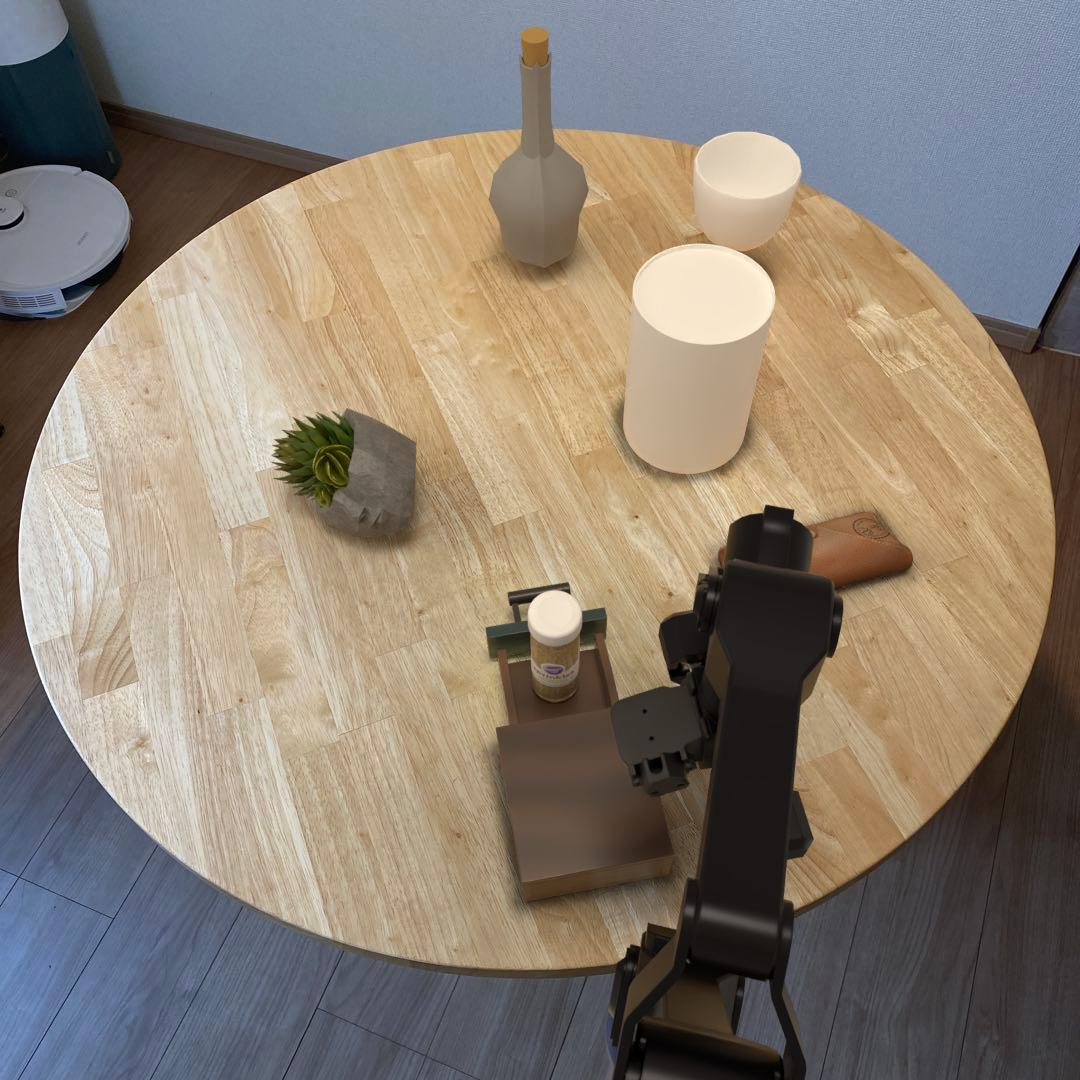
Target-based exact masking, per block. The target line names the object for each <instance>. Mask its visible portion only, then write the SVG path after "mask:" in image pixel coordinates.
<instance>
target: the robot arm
mask: <svg viewBox="0 0 1080 1080" xmlns="http://www.w3.org/2000/svg"><path fill="white" fill-rule="evenodd" d="M806 526H807V525H805V524H803V523H802V522H800V521H798V520H797V519H795V509H794V508H788V507H783V506H777V505H771V504H765V505H764V508H763V511H762V512H758V513H750V514H747V515H744V516H741V517H739V518H737V519H736V520H734V521H733V522H731V523H730V524H729V527H728V531H727V537H726V538H727V539H726V544H725V546H726V549H725V555H724V561H723V567H722V566H721V567H719V566H714V565H709V567H708V571H707V573H705V572H704V573H703V572H698V576H697V581H696V585H695V586H696V587H695V592H694V598H693V604H692V609H689V610H684V611H678V612H677V611H676V612H673V613H671V614H670V615H667V616H666V617H664V619H663V620H662V621H661V622H660V624H659V629H658V634H657V637H658V640H659V643H660V648H661V652H662V655H663V658H664V662H665V663H664V664H665V666H666V670H667V673H668V677H669V681H670V682H672V683H674V684H677V686H671V687H669V686H667V685H662V686H657V687H655V688H652V689H649V690H646V691H643V692H639V693H636V694H633V695H630V696H627V697H623V698H620V699H619V700H618V701H617V702H616V703H615V704H614V705H613V706H612V708H611V720H612V724H613V728H614V733H615V737H616V741H617V746H618V750H619V754H620V757H621V759H622V760H623V761H624V762H625V763H626V764H627V765H628V769H629V774H630V778H631V781H632V786H633V787H640V786H643V787H644V791H645V793H646V794H647V795H649V796H650V797H659V796H660V797H662V796H665V795H668V794H672V793H675V792H679V791H682V790H685V789H686V788H688V787H689V786H690V781H689V780H690V779H689V774H690V772H692V771H694V770H696V769H697V768H699V770H700V771H702V770H703V771H704V770H708V769H710V774H709V782H708V788H707V795H706V803H705V809H704V815H703V816H704V817H703V823H702V830H701V837H700V844H699V851H698V858H697V864H696V871H695V878H694V877H689V876H687V877H686V880H685V885H684V887H683V893H682V899H681V904H680V909H679V914H678V918H677V924H676V928H671V927H667V926H663V925H660V924H655V923H650V922H647V925H646V930H645V931H644V932H642V933H641V938H640V943H639V944H640V945H636V944H633V943H630V944H629V947H628V946H627V947H626V950H625V956H624V957H623V958H622V959H620V960H619V961H617V962H616V966H615V971H614V977H613V983H612V988H611V992H610V998H609V1003H608V1008H607V1011H608V1014H609V1013H610V1014H611V1016H612V1018H613V1024H612V1030H611V1035H610V1039H612V1046H611V1047H614V1048H617V1054H616V1059H615V1064H614V1070H613V1075H612V1080H805V1079H806V1076H807V1060H806V1055H805V1049H804V1043H803V1039H802V1038H803V1037H802V1033H801V1027H800V1026H801V1025H800V1021H799V1019H798V1015H797V1012H796V1010H795V1007H794V1004H793V1001H792V998H791V996H790V993H789V989H788V987H787V984H786V981H785V980H786V975H787V970H788V966H789V960H790V956H791V949H792V944H793V934H794V927H795V926H794V924H795V906H794V903H793V901H792V900H789V899H785V890H786V889H785V888H786V878H787V869H788V860H789V861H790V860H795V859H800V858H804V857H805V855H806V854H807V852H808V851H809V849H810V847H811V845H812V844H813V842H814V840H815V837H814V835H813V832H812V829H811V826H810V823H809V819H808V817H807V813H806V809H805V807H804V804H803V801H802V798H801V795H800V792H799V790H794V786H795V775H796V765H797V764H796V763H797V752H798V742H799V740H798V739H799V731H800V730H799V729H800V728H799V727H800V718H801V706H802V705H803V704H804V703H805V702H806V701H807V700H808V699H809V698H810V697H811V696H812V694H813V691H814V690H815V687H816V685H817V683H818V679H819V676H820V674H821V671H822V668H823V666H824V664H825V661H826V658H829V659H832V658H833V657H834V656H835V653H836V651H837V647H838V644H839V639H840V635H841V630H842V625H843V624H842V623H843V618H844V599H843V597H841V596H840V594H838V593H837V592H836V591H835V590H836V589H835V587H834V582H833V581H832V580H831V579H829V578H826V577H825V576H824V575H820V574H814V573H810V569H811V560H812V552H813V543H814V538H813V536H812V533H811V532H810V531H809V529H808V528H807V527H806ZM697 764H698V766H697ZM746 979H751V980H754V981H760V982H763V983H767V982H768V984H769V991H770V998H771V999H770V1000H771V1002H772V1005H773V1007H774V1011H775V1014H776V1016H777V1019H778V1021H779V1025H780V1026H781V1029H782V1033H783V1036H784V1039H785V1045H784V1050H783V1054H782V1055H780V1053H779V1051H777V1049H775V1048H772V1047H771V1046H769V1045H766V1044H762V1043H760V1042H756V1041H753V1040H750V1039H747V1038H744V1037H740V1036H737V1032H738V1026H739V1024H740V1018H741V1014H742V1008H743V1003H744V998H745V997H744V996H745V988H746Z"/></svg>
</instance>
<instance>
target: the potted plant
mask: <svg viewBox="0 0 1080 1080" xmlns="http://www.w3.org/2000/svg"><path fill="white" fill-rule="evenodd" d="M331 413H332V414H333V415H334V416H335V417H336V418H337V419H338V420H339V422H337V421H335V420H334V419H333V418H331V417H329V416H327V415H325V414H323V413H322V412H321V413H320V412H318V411H315V417H316V418H314V417H311V416H308V415H306V414H304V415H303V417H305V419H307V421H309V422H310V423H311V425H313V426H311V425H310V424H306V423H305V422H303V421H302V420H300V419H298V418H296V417H295V416H291V418H292V419H293V420H294V422H295V424H296V425H297V428H299V430H292V429H290V430H288V429H287V430H286V429H281V431H282V432H283V433H285V434H286V437H281V438H274V439H273V441H275V442H276V443H278V444H272V445H271V447H274V448H276V449H273V451H274V453H272V454H271V455H270V456H271V457H273V458H275V459H276V460H278V461H280V462H276V461H270V463H271V464H274V465H276V466H277V467H279V468H274V469H273V470H274V471H279V472H285V473H288V475H285V476H280V477H273V478H272V479H273V480H277V481H281V482H282V483H283V484H287V485H288V484H289V485H294V486H291V487H290V488H291V489H298V488H299V490H298V491H296V492H295V493H294V494H293V495H292V496H298V497H302V496H306V499H308V498H310V499H309V501H314V502H315V505H316V508H317V512H318V516H319V517H320V518H321V519H322V521H324V522H325V523H326V525H328V526H331V527H333V528H335V529H337V530H339V531H341V532H343V533H346V534H348V535H351V536H352V537H362V538H378V537H382V536H386V535H389V534H394V533H398V532H400V531H402V530H404V529H407V528H408V527H409V525H410V522H411V519H412V515H413V510H414V509H413V508H414V502H415V492H416V491H415V490H416V478H417V477H416V473H417V471H416V470H417V442H416V441H415V440H413V439H412V438H409V437H408V436H406V435H404V434H403V433H402V432H400V431H398V430H396V429H394V428H393V427H391V426H389V425H388V424H385V423H383V422H382V421H380V420H378V419H376V418H374V417H372V416H369V415H367V414H364V413H361V412H359V411H356V410H353V409H351V408H348V407H345V410H344V412H343V414H342V415H340V414H338V413H337V412H335V411H334V410H331ZM300 488H301V489H300ZM311 497H312V498H311Z"/></svg>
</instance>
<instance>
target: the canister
mask: <svg viewBox="0 0 1080 1080" xmlns="http://www.w3.org/2000/svg"><path fill="white" fill-rule="evenodd" d="M631 295H632V296H631V309H630V321H629V322H630V324H629V334H628V335H629V336H628V351H627V362H626V364H627V365H626V376H625V377H626V378H625V389H624V405H623V406H624V407H623V418H622V427H623V429H622V430H623V433H624V437H625V439H626V442H627V444H628V446H629V447H630V448H631V450H632V451H633V452H634V453H635V454H636V455H637V456H638V457H639V458H640V459H641V460H642V461H644V462H645V463H647V464H649V465H650V466H652V467H654V468H656V469H659V470H661V471H665V472H668V473H672V474H678V475H679V474H680V475H695V474H702V473H706V472H710V471H713V470H715V469H717V468H719V467H722V466H724V465H725V464H726V463H728V462H729V461H731V460H732V459H733V458H734V457H735V456H736V454H737V453H738V452H739V450H740V449H741V447H742V444H743V443H744V439H745V434H746V430H747V426H748V421H749V418H750V417H749V416H750V414H751V409H752V404H753V401H754V395H755V392H756V387H757V383H758V379H759V375H760V370H761V365H762V361H763V356H764V352H765V348H766V347H765V346H766V344H767V340H768V334H769V330H770V326H771V323H772V318H773V314H774V313H773V312H774V308H775V304H776V290H775V286H774V283H773V281H772V278H770V276H769V274H768V273H767V271H766V270H765V269H764V268H763V266H761V265H760V264H759V263H758V262H757V261H755V259H753V258H752V257H750V256H748V255H746V254H744V253H742V252H741V251H736V250H733V249H730V248H727V247H723V246H718V245H716V244H710V243H687V244H681V245H676V246H673V247H670V248H667V249H665V250H662V251H660V252H659V253H657V254H655V255H653V256H652V257H650V258H649V259H648V260H647V261H646V262H644V264H642V266H641V267H640V268H639V270H638V272H637V273H636V275H635V277H634V281H633V284H632V294H631Z"/></svg>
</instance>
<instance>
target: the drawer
mask: <svg viewBox="0 0 1080 1080" xmlns="http://www.w3.org/2000/svg"><path fill="white" fill-rule="evenodd" d="M553 590H558V591H563V592H566V593H568V594H570V595H572V592H571V591H572V590H571V587H570V583H569V581H568V582H567V581H565V582H560V583H554V584H549V585H542V586H536V587H531V588H524V589H517V590H511V591H507V600H508V604H509V605H508V606H509V607H511V610H512V615H513V619H514V622H509V623H503V624H497V625H491V626H486V627H485V628H484V629H485V636H486V643H487V651H488V655H489V656H488V657H489V659H491V660H493V659H497V664H498V670H499V676H500V681H501V688H502V694H503V699H504V704H505V710H506V717H507V721H508V725H513V724H518V723H524V722H530V721H535V720H541V719H547V718H552V717H558V716H564V715H569V714H575V713H581V712H586V711H592V710H598V709H603V708H609V707H612V706H613V705H614V704H615V703H616V702H617V701H618V700H620V698H619V697H620V696H619V693H618V690H617V689H618V688H617V686H616V685H617V684H616V682H615V677H614V673H613V668H612V665H611V661H610V655H609V652H608V648H607V644H606V639H607V628H608V615H607V610H606V607H604V606H603V607H598V608H591V609H586V610H582V628H581V631H580V644H584V643H590V642H594V645H593V648H591V649H590V648H589V649H585V650H584V649H583V650H580V659H579V671H578V676H579V686H578V688H577V691H576V692H575V694H574V695H573V696H572V697H570V698H569V699H567V700H565V701H563V702H558V703H554V702H549V701H546V700H543V699H542V698H540V697H539V696H538V695H537V694H536V693H535V691H534V689H533V687H532V683H531V678H532V669H531V659H527V660H521V661H516V662H515V661H514V662H509V661H508V657H509V656H514V655H522V654H526V653H531V642H530V641H531V638H530V637H531V636H530V631H529V628H528V619H526V620H522V617H521V612H520V607H519V606H521V605H526V604H531V602H532V601H533V600H534V599H535V598H536V597H537V596H538V595H540V594H542V593H544V592H547V591H553Z"/></svg>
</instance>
